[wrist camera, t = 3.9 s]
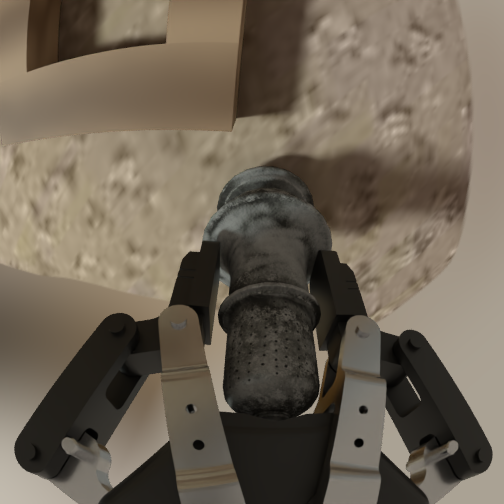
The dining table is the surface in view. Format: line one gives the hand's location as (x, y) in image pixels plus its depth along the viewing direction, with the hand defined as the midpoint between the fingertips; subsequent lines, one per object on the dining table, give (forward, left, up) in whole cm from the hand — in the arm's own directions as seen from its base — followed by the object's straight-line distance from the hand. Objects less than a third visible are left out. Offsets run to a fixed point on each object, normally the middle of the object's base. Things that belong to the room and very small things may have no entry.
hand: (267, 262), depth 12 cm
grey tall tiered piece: (0, 0, -5) cm, 5 cm away
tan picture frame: (-13, -9, -6) cm, 17 cm away
